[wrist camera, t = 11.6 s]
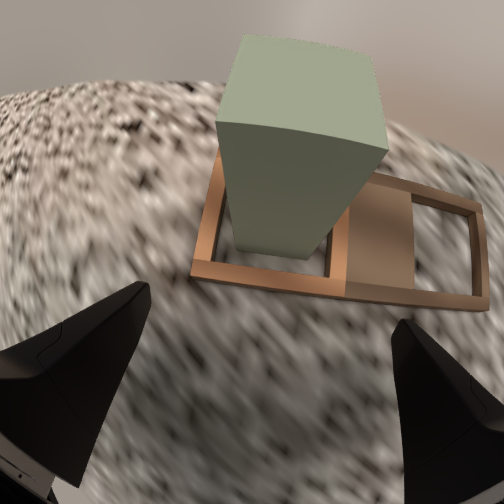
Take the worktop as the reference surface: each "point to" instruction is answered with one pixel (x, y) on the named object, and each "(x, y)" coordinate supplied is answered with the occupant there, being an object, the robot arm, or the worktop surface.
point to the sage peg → (296, 141)
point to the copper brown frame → (357, 249)
